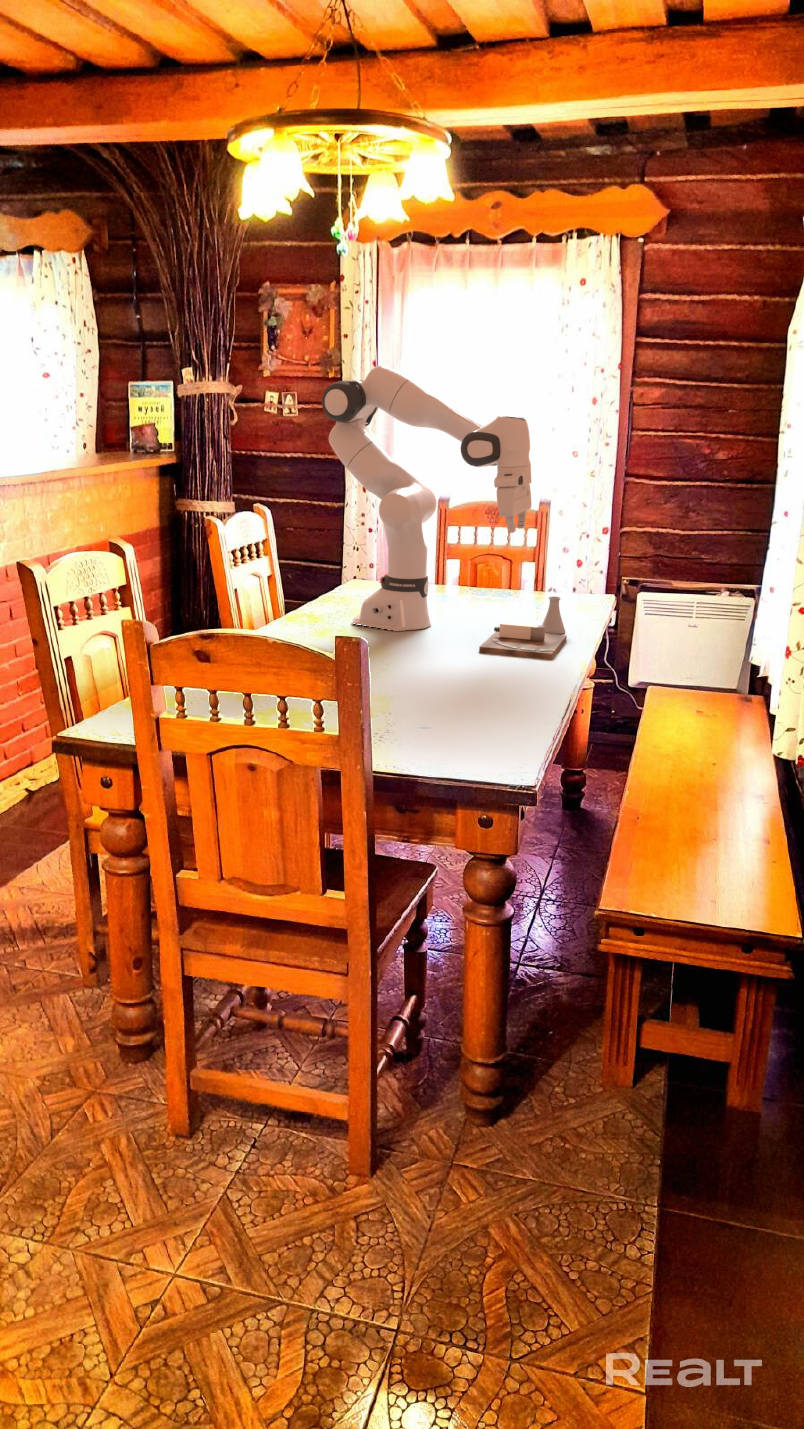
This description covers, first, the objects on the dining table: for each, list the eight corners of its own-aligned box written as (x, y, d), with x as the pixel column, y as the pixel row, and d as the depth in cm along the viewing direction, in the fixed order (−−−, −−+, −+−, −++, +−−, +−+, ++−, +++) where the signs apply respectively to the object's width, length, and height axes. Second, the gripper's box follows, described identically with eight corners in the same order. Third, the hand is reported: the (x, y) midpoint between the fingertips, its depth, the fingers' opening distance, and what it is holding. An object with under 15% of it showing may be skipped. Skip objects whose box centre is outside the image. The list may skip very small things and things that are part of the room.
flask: (564, 635, 290) (567, 600, 287) (538, 634, 291) (540, 599, 288) (565, 630, 297) (568, 595, 294) (540, 628, 298) (542, 594, 295)
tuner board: (479, 652, 270) (479, 645, 269) (498, 634, 290) (498, 628, 289) (552, 659, 264) (553, 653, 264) (567, 640, 284) (568, 634, 284)
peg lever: (545, 638, 279) (546, 625, 278) (542, 641, 275) (543, 628, 274) (496, 634, 283) (496, 621, 282) (492, 637, 279) (493, 624, 278)
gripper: (513, 475, 286) (515, 526, 289) (492, 481, 268) (494, 535, 271) (536, 474, 283) (537, 525, 287) (515, 480, 265) (518, 534, 269)
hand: (516, 530), depth 279 cm, fingers open, 8 cm apart
